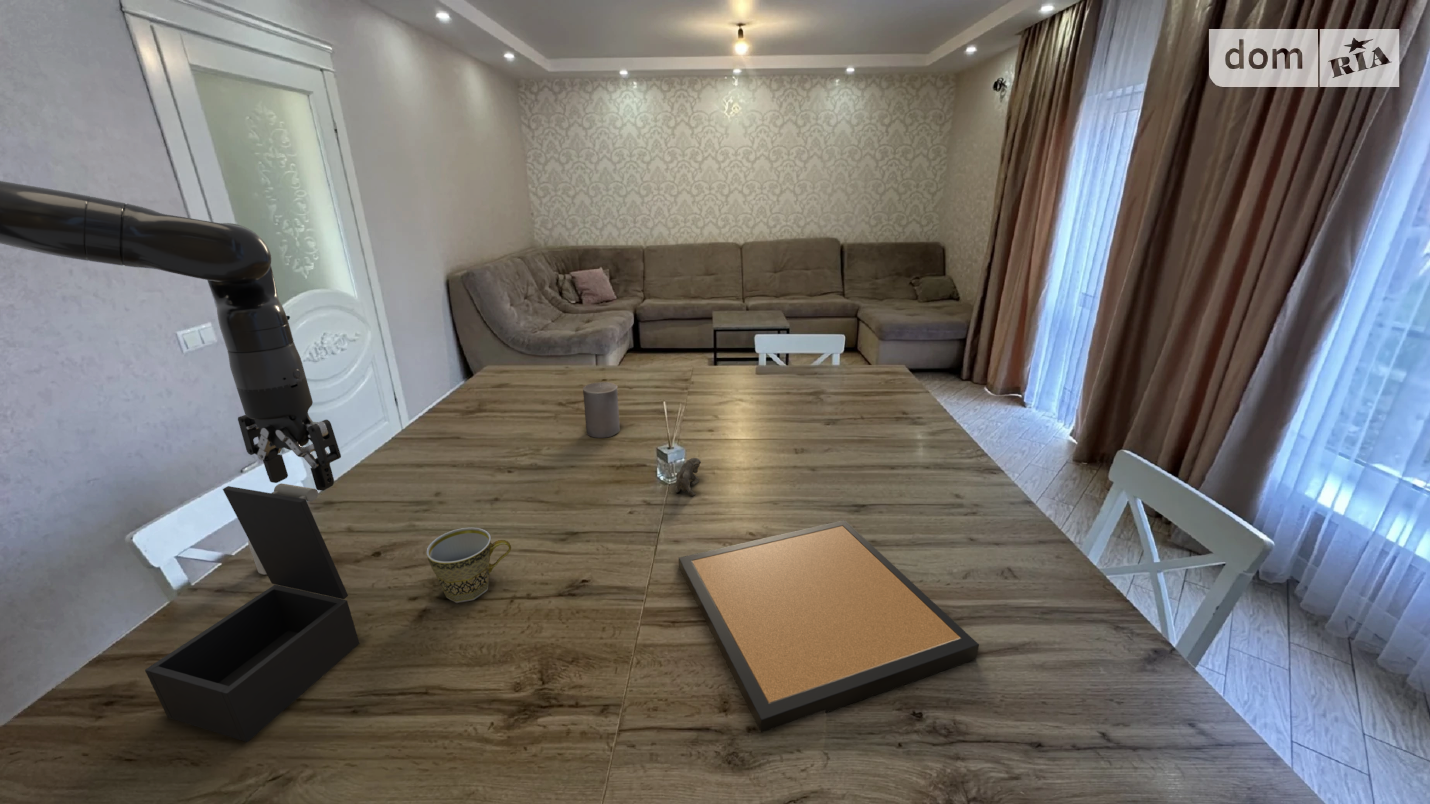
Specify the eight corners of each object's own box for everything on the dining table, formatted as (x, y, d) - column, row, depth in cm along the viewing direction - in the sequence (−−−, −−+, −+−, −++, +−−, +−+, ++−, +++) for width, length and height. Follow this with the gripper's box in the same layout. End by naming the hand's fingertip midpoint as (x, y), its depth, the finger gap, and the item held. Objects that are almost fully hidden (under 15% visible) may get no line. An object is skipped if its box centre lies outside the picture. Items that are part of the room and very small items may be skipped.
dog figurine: (694, 501, 124) (694, 472, 121) (670, 498, 125) (669, 469, 123) (706, 476, 135) (706, 449, 132) (684, 474, 136) (683, 447, 133)
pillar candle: (585, 427, 164) (580, 379, 158) (618, 423, 166) (614, 376, 161) (588, 440, 155) (583, 390, 150) (622, 435, 158) (619, 386, 153)
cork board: (843, 531, 113) (678, 570, 101) (844, 519, 112) (678, 557, 100) (975, 659, 82) (760, 736, 70) (979, 644, 81) (761, 720, 69)
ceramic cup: (431, 617, 90) (420, 567, 87) (442, 579, 99) (432, 531, 96) (515, 603, 93) (507, 553, 90) (518, 567, 102) (511, 520, 99)
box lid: (300, 502, 73) (333, 480, 77) (222, 489, 76) (258, 468, 81) (344, 599, 81) (372, 574, 85) (271, 583, 84) (302, 560, 88)
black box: (249, 746, 69) (226, 693, 66) (169, 721, 72) (144, 669, 69) (360, 646, 84) (347, 600, 81) (290, 629, 88) (274, 584, 85)
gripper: (201, 382, 73) (238, 490, 78) (285, 392, 69) (318, 504, 75) (258, 366, 80) (289, 466, 85) (337, 374, 76) (363, 478, 82)
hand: (302, 484), depth 80 cm, fingers open, 8 cm apart
